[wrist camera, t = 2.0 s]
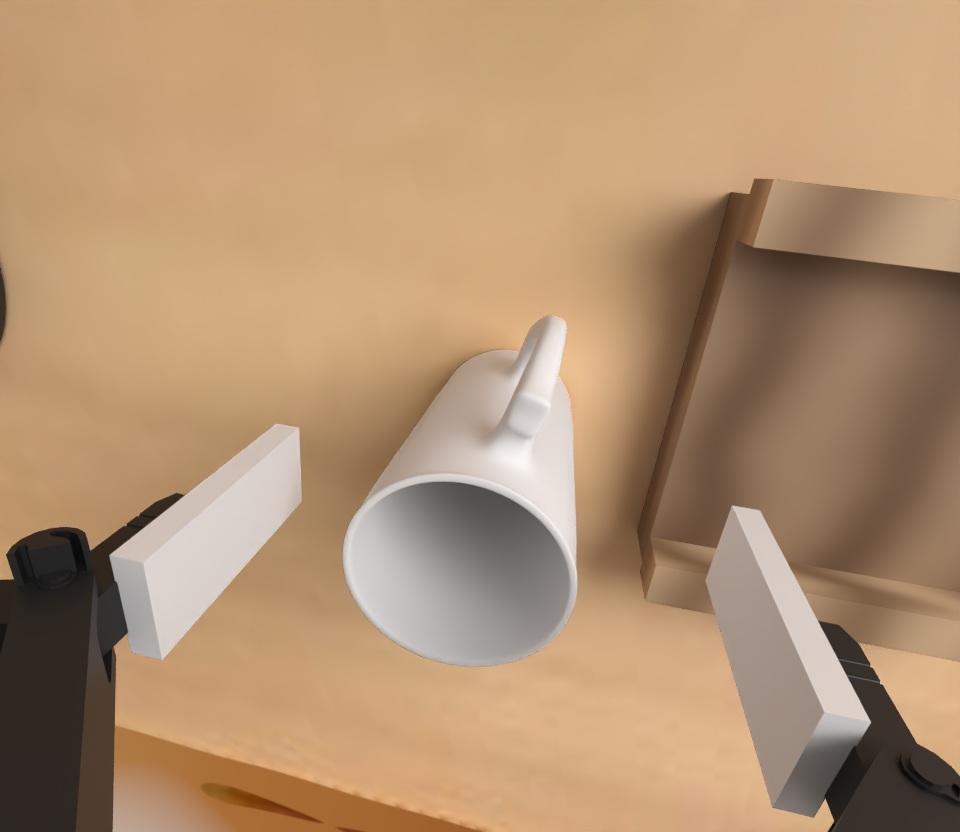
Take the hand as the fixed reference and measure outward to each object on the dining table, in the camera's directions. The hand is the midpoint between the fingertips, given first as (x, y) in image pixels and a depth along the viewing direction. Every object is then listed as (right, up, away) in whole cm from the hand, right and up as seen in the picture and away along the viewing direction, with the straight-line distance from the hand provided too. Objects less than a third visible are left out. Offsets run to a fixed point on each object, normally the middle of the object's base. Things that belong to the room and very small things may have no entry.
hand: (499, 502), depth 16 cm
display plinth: (+16, +3, +7) cm, 18 cm away
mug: (+1, +4, +9) cm, 10 cm away
